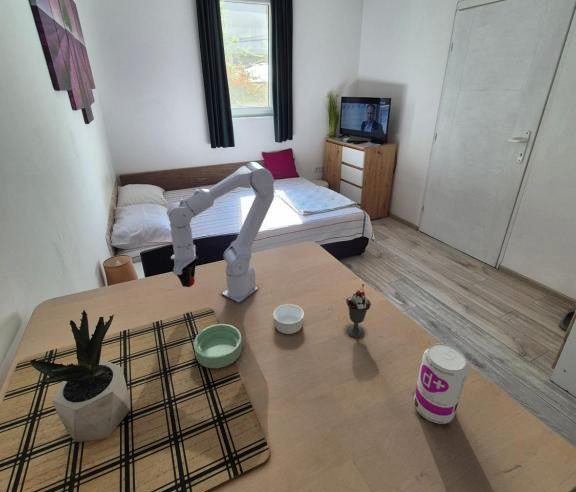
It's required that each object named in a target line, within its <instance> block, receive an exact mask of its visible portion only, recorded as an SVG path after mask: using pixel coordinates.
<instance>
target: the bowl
mask: <svg viewBox="0 0 576 492" xmlns="http://www.w3.org/2000/svg"><path fill="white" fill-rule="evenodd" d="M193 348H194V349H193V350H194V356H195V359H196V361H197V363H198V364H199V365H201V366H202V367H205V368H208V369H220V368H225V367H227V366H229V365H231V364H233V363H235V362H236V361H237V360H238V359H239V358H240V355H241V354H242V351H243V340H242V334H241V331H240V330H239V329H238V328H237V327H235V326H234V325H232V324H227V323H218V324H213V325H210V326H207V327H204V328H203V329H202V330H201V331H199V332H198V334H197V335H196V336H195V338H194V341H193Z"/></svg>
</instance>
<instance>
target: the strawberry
mask: <svg viewBox="0 0 576 492" xmlns="http://www.w3.org/2000/svg"><path fill="white" fill-rule="evenodd" d="M195 282H196V279H195V276H194V277H193V276H192V275H191V284H190V287H189V288H191V287H192V286H194V284H195Z"/></svg>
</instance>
